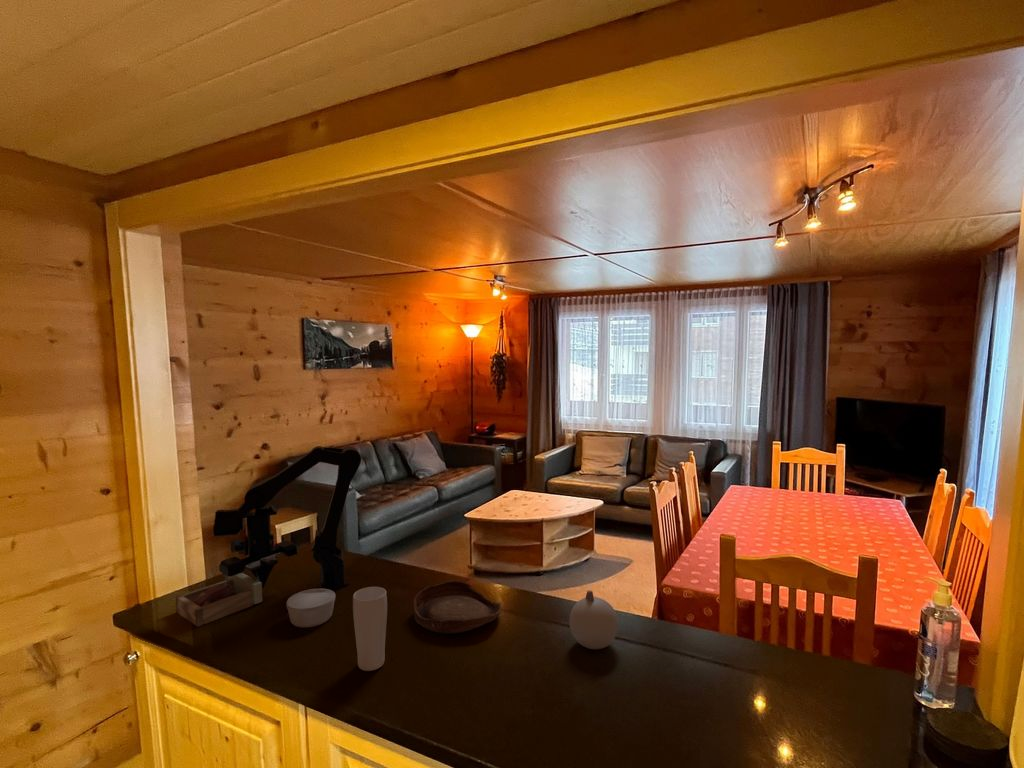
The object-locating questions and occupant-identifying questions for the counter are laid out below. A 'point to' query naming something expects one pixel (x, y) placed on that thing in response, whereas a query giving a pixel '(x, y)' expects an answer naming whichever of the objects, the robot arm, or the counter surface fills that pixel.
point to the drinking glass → (370, 626)
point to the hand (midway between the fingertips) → (261, 588)
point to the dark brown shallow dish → (453, 608)
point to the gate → (246, 585)
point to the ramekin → (311, 607)
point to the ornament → (593, 622)
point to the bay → (212, 605)
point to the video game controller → (214, 594)
